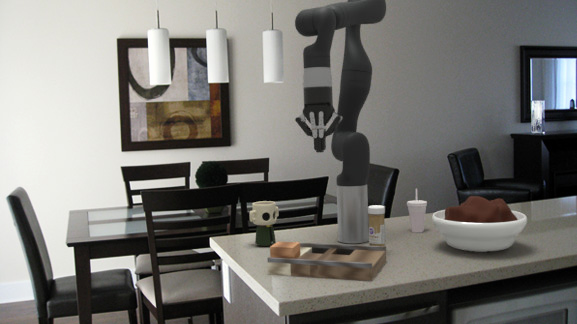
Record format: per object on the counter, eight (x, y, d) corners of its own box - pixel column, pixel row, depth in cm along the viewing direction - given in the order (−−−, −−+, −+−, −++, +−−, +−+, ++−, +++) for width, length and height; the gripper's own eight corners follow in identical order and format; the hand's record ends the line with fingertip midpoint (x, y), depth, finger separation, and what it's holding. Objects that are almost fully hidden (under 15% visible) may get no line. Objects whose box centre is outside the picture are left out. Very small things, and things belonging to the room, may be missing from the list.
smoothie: (405, 233, 184) (404, 189, 183) (409, 229, 190) (408, 186, 189) (426, 233, 182) (425, 189, 181) (429, 229, 188) (428, 187, 187)
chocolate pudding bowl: (414, 245, 167) (413, 193, 166) (484, 235, 176) (484, 186, 175) (471, 264, 144) (470, 205, 143) (548, 252, 153) (548, 196, 152)
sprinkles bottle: (365, 255, 158) (364, 206, 156) (374, 251, 161) (373, 204, 160) (380, 257, 155) (379, 207, 154) (389, 253, 158) (387, 205, 157)
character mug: (258, 250, 168) (256, 206, 167) (244, 246, 174) (242, 204, 173) (286, 243, 175) (285, 201, 174) (272, 240, 181) (270, 199, 180)
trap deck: (386, 261, 150) (386, 246, 150) (371, 281, 133) (371, 264, 133) (292, 256, 159) (292, 242, 159) (268, 274, 143) (267, 258, 142)
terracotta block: (300, 255, 148) (299, 242, 147) (293, 261, 142) (292, 247, 142) (278, 254, 149) (277, 241, 149) (270, 260, 144) (269, 246, 144)
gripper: (346, 85, 151) (348, 150, 153) (298, 87, 156) (300, 151, 157) (338, 84, 144) (340, 153, 146) (289, 86, 149) (291, 153, 150)
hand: (319, 152), depth 152 cm, fingers closed
